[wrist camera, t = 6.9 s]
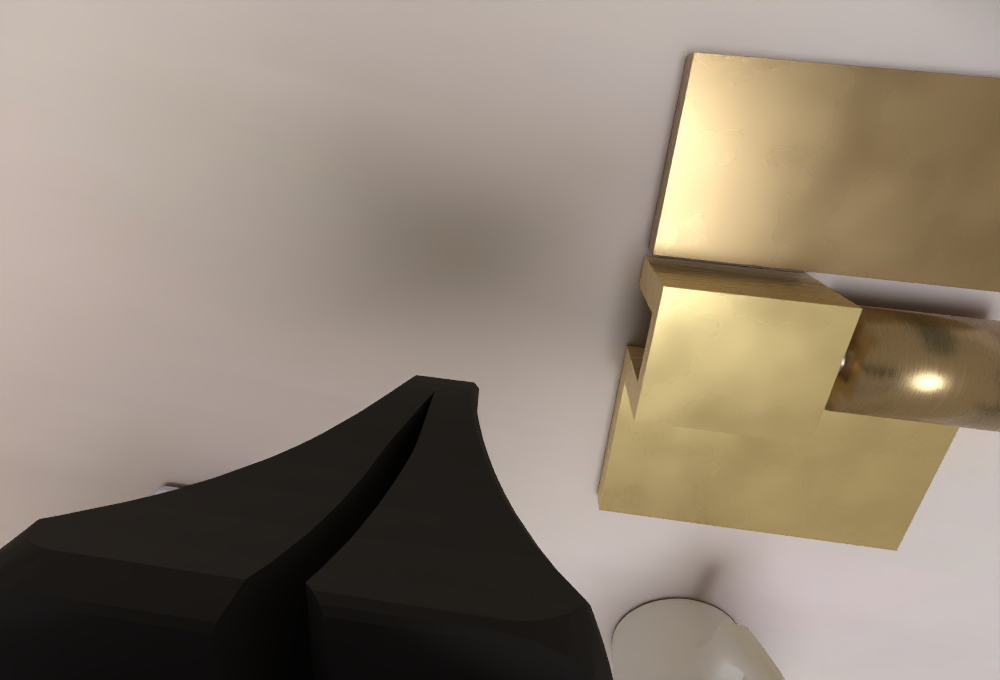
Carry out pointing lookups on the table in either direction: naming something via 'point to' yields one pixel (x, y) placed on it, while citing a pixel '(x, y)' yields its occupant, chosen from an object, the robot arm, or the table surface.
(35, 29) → the table surface
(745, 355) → the brass leaf
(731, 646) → the mug
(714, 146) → the bronze leaf with pin
